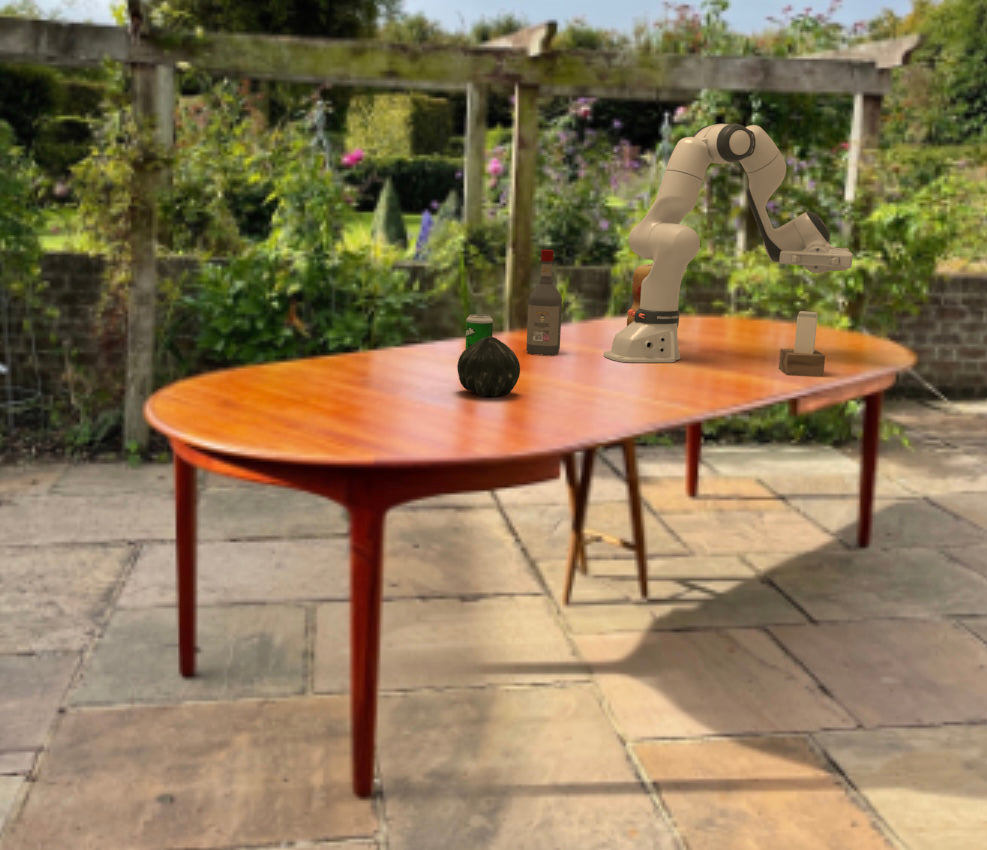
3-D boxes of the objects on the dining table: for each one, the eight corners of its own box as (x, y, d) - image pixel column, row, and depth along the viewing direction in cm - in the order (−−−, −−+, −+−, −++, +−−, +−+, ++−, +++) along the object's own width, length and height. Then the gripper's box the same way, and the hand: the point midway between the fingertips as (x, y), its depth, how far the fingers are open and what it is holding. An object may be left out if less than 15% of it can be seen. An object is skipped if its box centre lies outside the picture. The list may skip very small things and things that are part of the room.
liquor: (556, 356, 317) (560, 252, 310) (525, 354, 319) (529, 250, 312) (560, 351, 326) (565, 249, 319) (530, 349, 327) (534, 248, 320)
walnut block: (823, 377, 299) (825, 355, 298) (786, 376, 299) (788, 354, 298) (814, 370, 309) (816, 349, 307) (778, 369, 309) (780, 348, 308)
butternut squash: (619, 342, 346) (623, 263, 340) (634, 337, 357) (639, 260, 352) (660, 347, 340) (666, 266, 334) (674, 342, 351) (680, 263, 345)
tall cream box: (812, 354, 300) (816, 314, 297) (794, 352, 301) (797, 313, 298) (814, 351, 304) (817, 312, 301) (795, 349, 306) (799, 310, 303)
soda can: (492, 356, 314) (494, 314, 311) (490, 360, 306) (491, 317, 304) (466, 354, 314) (468, 313, 312) (463, 359, 307) (464, 316, 304)
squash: (491, 362, 272) (467, 321, 262) (539, 373, 263) (516, 331, 253) (461, 405, 266) (436, 365, 256) (509, 417, 257) (484, 376, 247)
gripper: (782, 244, 324) (777, 247, 311) (854, 248, 317) (852, 251, 304) (780, 266, 325) (775, 269, 313) (852, 270, 319) (850, 274, 306)
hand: (814, 260), depth 309 cm, fingers open, 8 cm apart
